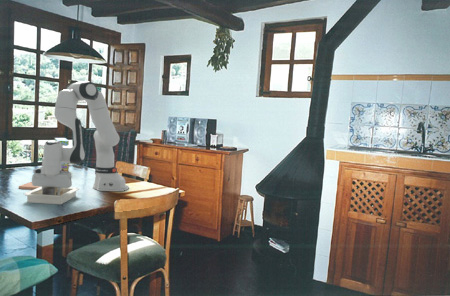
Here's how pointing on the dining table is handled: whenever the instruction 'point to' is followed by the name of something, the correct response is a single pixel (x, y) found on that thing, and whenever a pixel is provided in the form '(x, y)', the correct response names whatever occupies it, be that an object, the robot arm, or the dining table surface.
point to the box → (51, 191)
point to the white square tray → (50, 196)
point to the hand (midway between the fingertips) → (51, 194)
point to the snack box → (65, 143)
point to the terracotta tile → (28, 186)
